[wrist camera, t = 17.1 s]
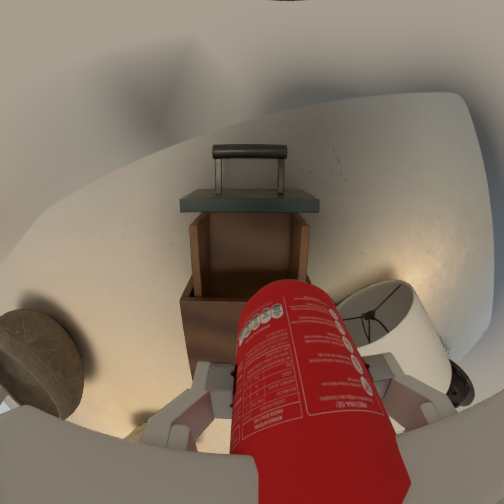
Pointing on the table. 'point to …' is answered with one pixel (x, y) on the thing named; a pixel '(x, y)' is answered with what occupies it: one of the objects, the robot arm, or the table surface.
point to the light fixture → (403, 337)
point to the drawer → (247, 230)
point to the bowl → (39, 363)
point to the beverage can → (310, 405)
